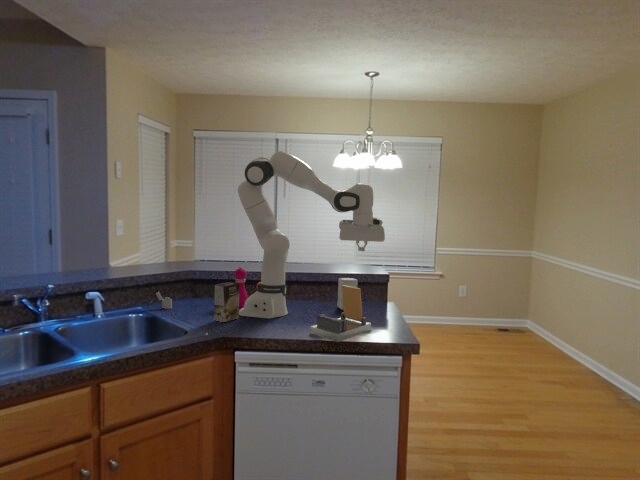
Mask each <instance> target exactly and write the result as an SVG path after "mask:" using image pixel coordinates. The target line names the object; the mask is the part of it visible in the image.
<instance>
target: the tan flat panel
mask: <svg viewBox="0 0 640 480" xmlns="http://www.w3.org/2000/svg"><path fill="white" fill-rule="evenodd" d="M342 294H343V307H344V310H343V312H344V318H348V319H352V320H355V321H359V322H361V319H362V318H363V305H362V289H361V288H360V287H357V288H356V287H351V286H346V285H342Z"/></svg>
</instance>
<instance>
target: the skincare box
mask: <svg viewBox="0 0 640 480" xmlns="http://www.w3.org/2000/svg"><path fill="white" fill-rule="evenodd" d="M337 285H338V286H337V289H338V290H337V305H336V306H337V308H338V309H339V310H343V311H344V307H343V294H342V285H346V286H351V287H356V288H358V279H356V278H353V277H340V278H339V277H338V284H337Z"/></svg>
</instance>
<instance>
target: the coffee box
mask: <svg viewBox="0 0 640 480" xmlns="http://www.w3.org/2000/svg"><path fill="white" fill-rule="evenodd" d="M213 311H214V312H213V314H214V317H213V321H214V320H216V321H220V322H219V323H221V322H227V323H229V322H228V321H231V320H234V319H237V320H239V319H238V318H240V317H239V316H240V315H239V311H240V307H239V283H236V282H234V281H233V282H231V281H227V282H223V283H222V282H221V283H216V284H214V310H213ZM216 321H215V322H216ZM234 321H235V320H234ZM231 322H232V321H231Z"/></svg>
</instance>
